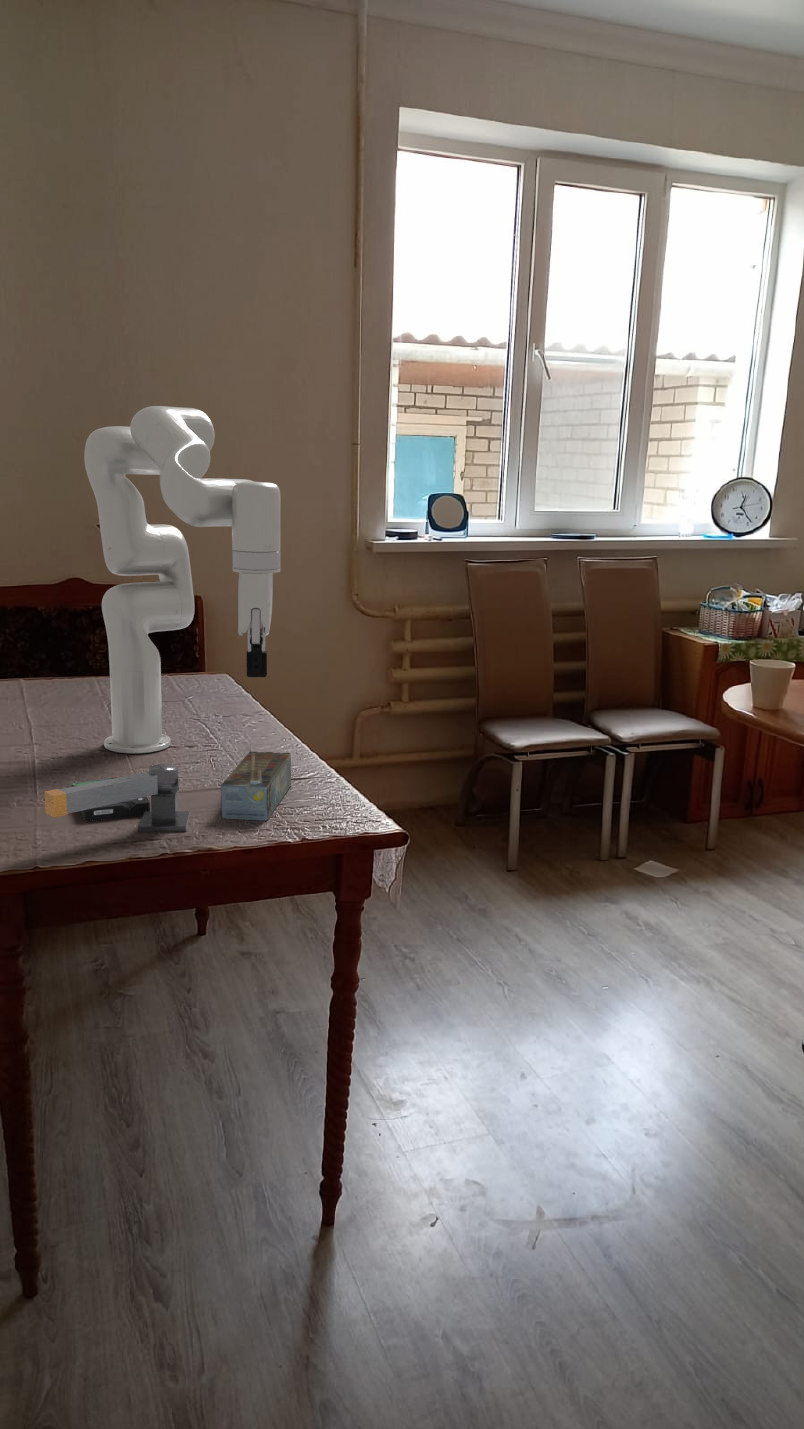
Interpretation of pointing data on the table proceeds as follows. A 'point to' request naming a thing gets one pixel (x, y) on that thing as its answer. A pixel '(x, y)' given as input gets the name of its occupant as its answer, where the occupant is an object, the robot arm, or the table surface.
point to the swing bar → (112, 790)
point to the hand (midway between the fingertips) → (256, 675)
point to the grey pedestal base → (164, 815)
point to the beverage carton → (256, 786)
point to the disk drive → (115, 807)
